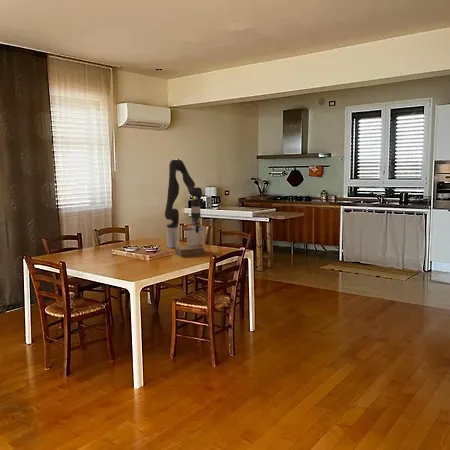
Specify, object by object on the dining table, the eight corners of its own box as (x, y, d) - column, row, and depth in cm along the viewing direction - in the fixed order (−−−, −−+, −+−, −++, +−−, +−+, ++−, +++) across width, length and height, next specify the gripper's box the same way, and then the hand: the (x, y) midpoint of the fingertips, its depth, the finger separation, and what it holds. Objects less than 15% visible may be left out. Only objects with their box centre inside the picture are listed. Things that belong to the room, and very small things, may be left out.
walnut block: (174, 254, 378) (174, 247, 378) (196, 252, 387) (196, 245, 386) (181, 257, 366) (181, 249, 365) (203, 255, 375) (203, 248, 374)
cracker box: (204, 250, 394) (204, 225, 391) (203, 252, 388) (203, 226, 385) (188, 250, 395) (188, 225, 393) (186, 251, 389) (186, 226, 387)
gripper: (189, 211, 393) (189, 231, 395) (193, 213, 380) (193, 233, 382) (197, 211, 396) (198, 230, 398) (202, 212, 382) (202, 233, 384)
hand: (195, 232), depth 390 cm, fingers closed on cracker box, 7 cm apart
